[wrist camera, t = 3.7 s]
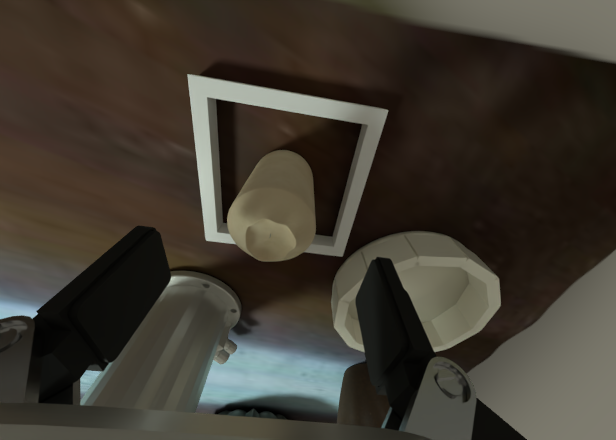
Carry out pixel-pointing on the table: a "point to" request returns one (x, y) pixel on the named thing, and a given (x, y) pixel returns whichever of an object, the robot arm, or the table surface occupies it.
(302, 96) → the white square frame
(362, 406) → the plant pot
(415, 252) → the bowl
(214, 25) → the table surface
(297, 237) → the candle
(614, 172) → the table surface
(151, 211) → the table surface
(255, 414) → the bundt pan
